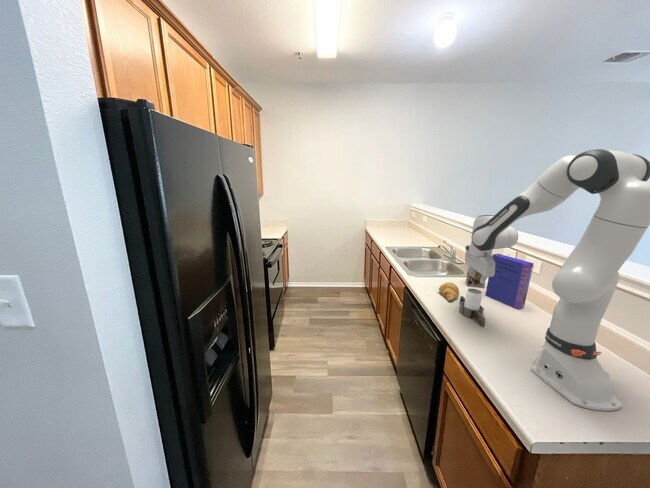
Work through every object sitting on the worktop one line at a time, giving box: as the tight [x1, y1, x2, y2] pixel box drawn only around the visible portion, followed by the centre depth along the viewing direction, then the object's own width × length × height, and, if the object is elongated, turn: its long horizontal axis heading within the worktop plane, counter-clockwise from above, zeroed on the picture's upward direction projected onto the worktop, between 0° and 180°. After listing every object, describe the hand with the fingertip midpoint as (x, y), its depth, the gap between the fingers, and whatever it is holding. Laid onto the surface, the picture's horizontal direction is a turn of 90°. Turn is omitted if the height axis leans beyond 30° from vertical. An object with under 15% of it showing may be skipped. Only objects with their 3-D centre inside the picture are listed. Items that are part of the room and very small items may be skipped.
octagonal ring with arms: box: [458, 306, 486, 328], centre depth 126 cm, size 16×10×4 cm, turn 177°
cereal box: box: [484, 253, 534, 311], centre depth 140 cm, size 17×5×24 cm, turn 24°
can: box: [464, 288, 483, 310], centre depth 128 cm, size 6×6×12 cm
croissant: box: [438, 282, 460, 302], centre depth 150 cm, size 21×10×8 cm, turn 161°
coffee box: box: [465, 266, 486, 289], centre depth 162 cm, size 9×6×16 cm
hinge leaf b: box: [459, 295, 485, 315], centre depth 132 cm, size 16×10×4 cm, turn 177°
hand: (476, 279), depth 125 cm, fingers open, 8 cm apart
